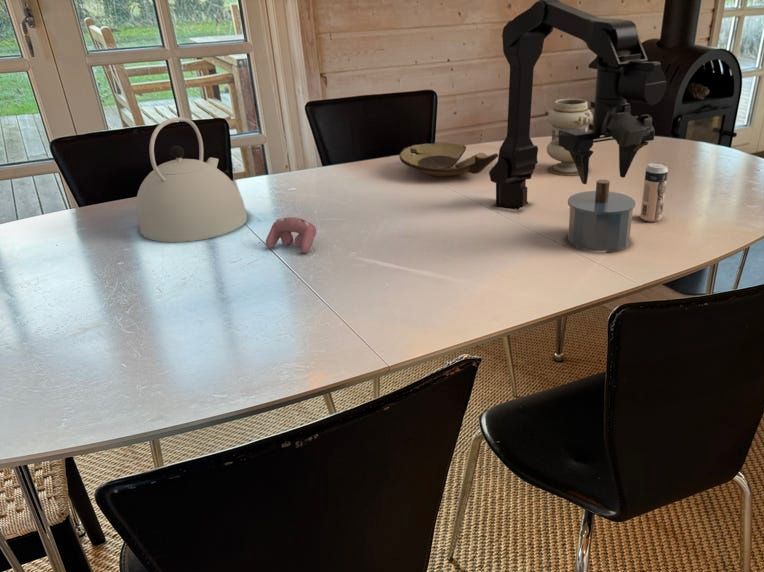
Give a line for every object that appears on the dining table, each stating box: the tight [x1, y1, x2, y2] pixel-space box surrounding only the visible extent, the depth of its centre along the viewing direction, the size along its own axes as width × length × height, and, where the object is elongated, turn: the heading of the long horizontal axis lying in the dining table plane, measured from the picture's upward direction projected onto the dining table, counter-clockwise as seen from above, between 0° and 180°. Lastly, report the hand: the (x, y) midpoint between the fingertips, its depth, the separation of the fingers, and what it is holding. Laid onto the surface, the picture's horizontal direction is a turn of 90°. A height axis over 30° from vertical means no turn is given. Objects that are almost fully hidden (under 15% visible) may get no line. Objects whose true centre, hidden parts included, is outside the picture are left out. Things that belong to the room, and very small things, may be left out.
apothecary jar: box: [546, 98, 594, 176], centre depth 178 cm, size 12×12×18 cm
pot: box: [567, 206, 634, 254], centre depth 136 cm, size 12×12×8 cm
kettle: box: [135, 116, 248, 243], centre depth 145 cm, size 25×23×23 cm
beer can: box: [639, 162, 669, 223], centre depth 146 cm, size 5×5×12 cm
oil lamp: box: [398, 142, 499, 177], centre depth 179 cm, size 22×30×8 cm
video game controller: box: [265, 216, 317, 254], centre depth 136 cm, size 10×5×7 cm, turn 71°
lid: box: [567, 178, 636, 215], centre depth 133 cm, size 13×13×5 cm
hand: (603, 180), depth 131 cm, fingers open, 9 cm apart
